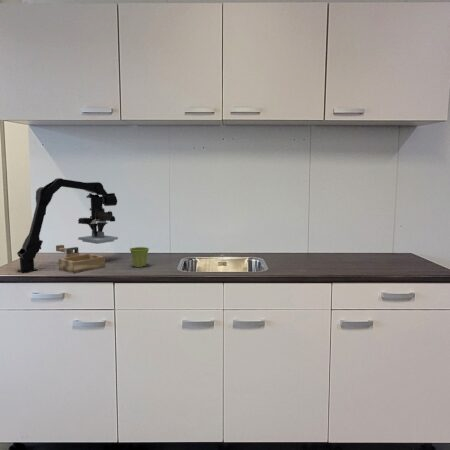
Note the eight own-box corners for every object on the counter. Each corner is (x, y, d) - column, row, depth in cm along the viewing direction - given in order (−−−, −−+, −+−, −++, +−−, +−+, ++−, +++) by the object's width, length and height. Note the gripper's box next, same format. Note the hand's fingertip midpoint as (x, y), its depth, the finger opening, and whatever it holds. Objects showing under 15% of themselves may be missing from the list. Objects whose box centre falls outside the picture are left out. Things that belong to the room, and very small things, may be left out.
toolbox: (56, 268, 175) (55, 249, 174) (86, 262, 188) (85, 245, 187) (74, 273, 166) (73, 253, 165) (105, 266, 179) (104, 248, 178)
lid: (96, 244, 183) (95, 234, 182) (78, 241, 192) (77, 231, 192) (118, 241, 193) (117, 231, 193) (99, 238, 203) (99, 229, 202)
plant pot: (150, 263, 186) (149, 246, 185) (148, 267, 177) (148, 250, 176) (131, 264, 185) (130, 247, 184) (128, 268, 175) (128, 250, 174)
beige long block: (56, 251, 186) (55, 245, 186) (61, 250, 189) (61, 244, 189) (68, 253, 180) (67, 247, 180) (73, 252, 182) (73, 247, 182)
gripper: (89, 207, 179) (91, 239, 180) (121, 206, 194) (122, 235, 195) (76, 207, 185) (78, 237, 187) (108, 205, 200) (109, 233, 202)
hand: (97, 236), depth 193 cm, fingers closed on lid
